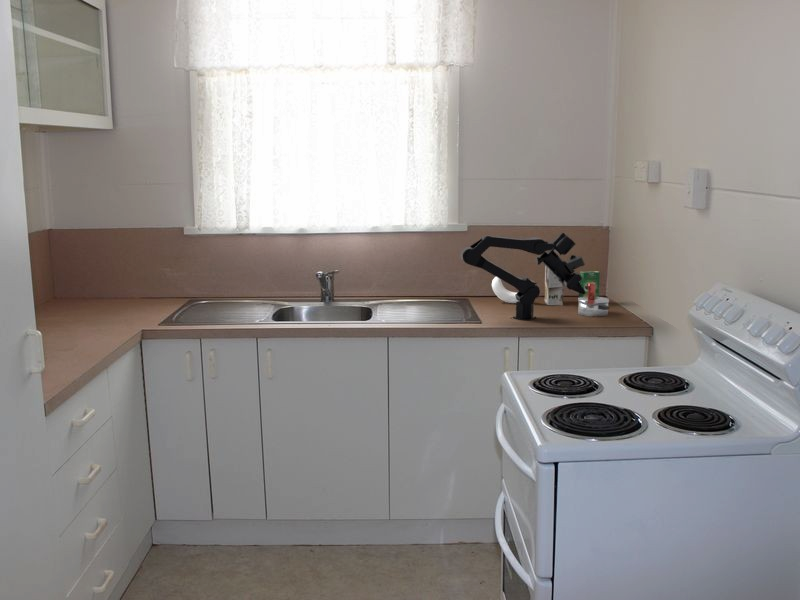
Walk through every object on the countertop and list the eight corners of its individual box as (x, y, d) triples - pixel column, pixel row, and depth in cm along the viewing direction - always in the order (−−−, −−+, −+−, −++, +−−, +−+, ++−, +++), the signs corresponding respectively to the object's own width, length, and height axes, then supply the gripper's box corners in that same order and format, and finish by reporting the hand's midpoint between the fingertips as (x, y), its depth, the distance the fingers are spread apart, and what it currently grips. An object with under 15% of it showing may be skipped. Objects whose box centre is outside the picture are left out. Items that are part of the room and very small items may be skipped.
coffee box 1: (563, 305, 327) (564, 265, 324) (547, 305, 327) (548, 265, 324) (559, 301, 336) (561, 262, 332) (543, 301, 336) (545, 262, 333)
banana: (538, 305, 328) (539, 269, 325) (491, 304, 330) (492, 268, 327) (538, 302, 332) (539, 267, 330) (491, 301, 335) (492, 266, 332)
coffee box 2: (595, 302, 333) (596, 270, 331) (599, 303, 331) (600, 271, 328) (578, 303, 331) (579, 271, 328) (581, 304, 328) (583, 272, 326)
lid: (579, 297, 317) (580, 276, 315) (610, 299, 313) (611, 278, 312) (574, 304, 303) (575, 283, 301) (606, 306, 299) (607, 284, 297)
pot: (570, 311, 315) (570, 299, 314) (594, 309, 319) (594, 297, 318) (593, 319, 301) (593, 307, 300) (618, 316, 305) (618, 305, 304)
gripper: (577, 252, 289) (607, 282, 291) (566, 245, 307) (594, 274, 309) (554, 274, 290) (584, 304, 292) (544, 266, 308) (573, 294, 311)
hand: (584, 293), depth 301 cm, fingers closed
